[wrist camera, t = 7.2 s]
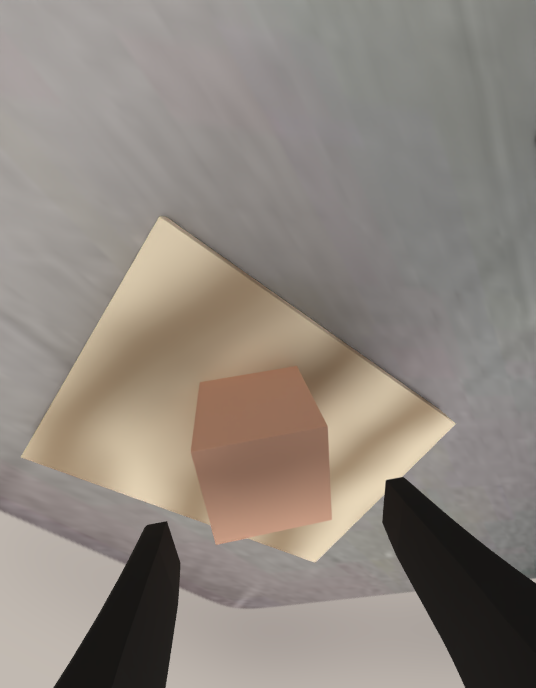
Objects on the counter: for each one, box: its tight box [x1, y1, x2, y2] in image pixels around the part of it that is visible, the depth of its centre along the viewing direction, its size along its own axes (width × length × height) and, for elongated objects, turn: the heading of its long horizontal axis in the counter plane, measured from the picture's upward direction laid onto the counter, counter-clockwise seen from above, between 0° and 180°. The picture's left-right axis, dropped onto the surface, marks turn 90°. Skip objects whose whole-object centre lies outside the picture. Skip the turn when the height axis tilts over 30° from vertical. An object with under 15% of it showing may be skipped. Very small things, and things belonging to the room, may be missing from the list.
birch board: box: [21, 216, 455, 562], centre depth 18 cm, size 20×14×2 cm
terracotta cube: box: [191, 366, 332, 545], centre depth 14 cm, size 5×5×5 cm
